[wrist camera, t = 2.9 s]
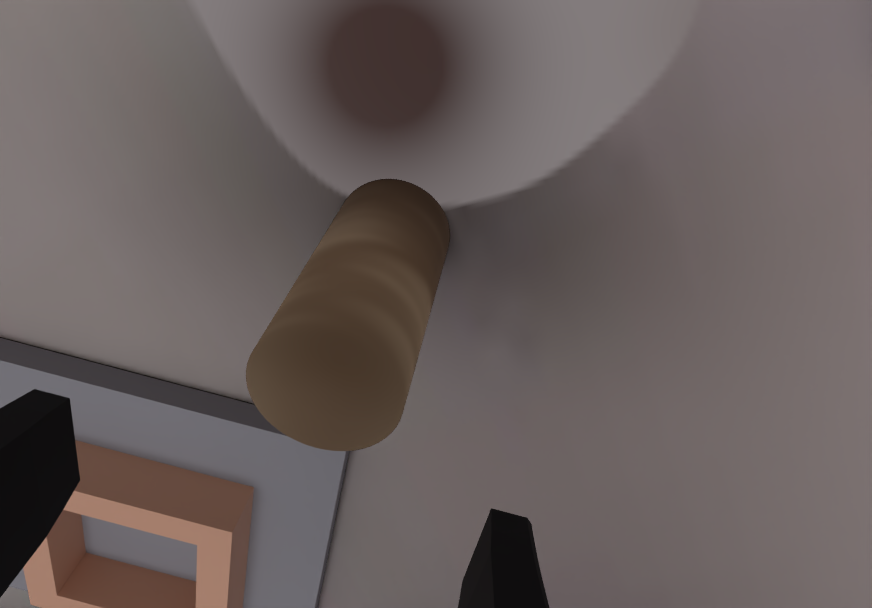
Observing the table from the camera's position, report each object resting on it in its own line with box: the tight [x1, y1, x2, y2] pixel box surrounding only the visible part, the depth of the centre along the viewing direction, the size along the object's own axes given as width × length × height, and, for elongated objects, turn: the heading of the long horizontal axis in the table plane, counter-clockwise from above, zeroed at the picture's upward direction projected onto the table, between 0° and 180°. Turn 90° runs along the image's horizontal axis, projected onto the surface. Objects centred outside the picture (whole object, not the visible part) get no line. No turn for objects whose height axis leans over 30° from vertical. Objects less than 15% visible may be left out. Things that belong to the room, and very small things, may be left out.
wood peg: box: [246, 179, 450, 451], centre depth 16 cm, size 3×3×7 cm
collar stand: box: [0, 338, 349, 608], centre depth 26 cm, size 14×14×3 cm
